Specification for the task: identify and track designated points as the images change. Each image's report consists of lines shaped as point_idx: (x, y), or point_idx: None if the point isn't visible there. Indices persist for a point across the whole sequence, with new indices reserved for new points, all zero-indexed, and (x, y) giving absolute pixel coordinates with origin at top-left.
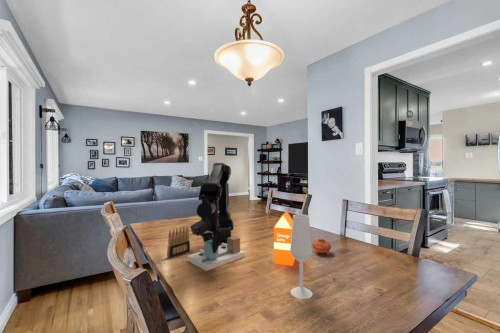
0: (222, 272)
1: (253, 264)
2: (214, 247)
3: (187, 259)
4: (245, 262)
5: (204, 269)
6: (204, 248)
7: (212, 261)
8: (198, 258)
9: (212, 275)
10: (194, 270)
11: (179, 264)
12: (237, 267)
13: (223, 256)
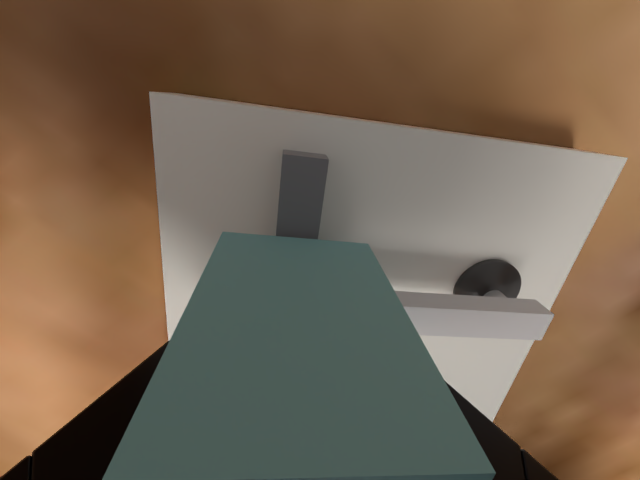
0: (15, 188)
1: (10, 448)
2: (87, 423)
3: (583, 150)
4: None
5: (218, 99)
6: (404, 314)
7: (216, 241)
8: (437, 193)
9: (5, 50)
10: (306, 3)
11: (601, 7)
12: (37, 347)
13: None
